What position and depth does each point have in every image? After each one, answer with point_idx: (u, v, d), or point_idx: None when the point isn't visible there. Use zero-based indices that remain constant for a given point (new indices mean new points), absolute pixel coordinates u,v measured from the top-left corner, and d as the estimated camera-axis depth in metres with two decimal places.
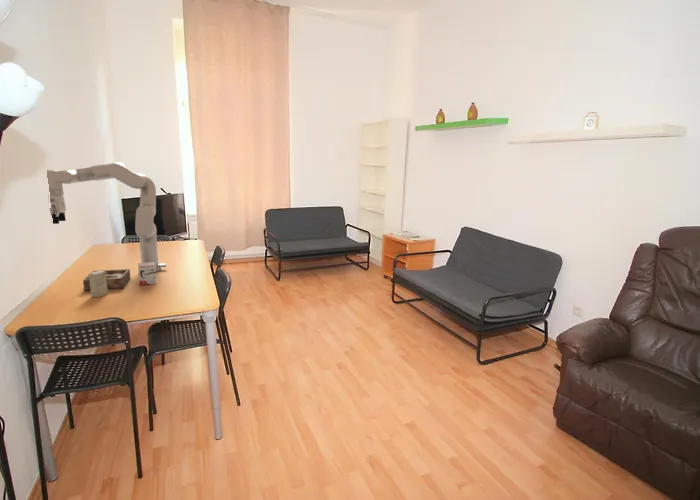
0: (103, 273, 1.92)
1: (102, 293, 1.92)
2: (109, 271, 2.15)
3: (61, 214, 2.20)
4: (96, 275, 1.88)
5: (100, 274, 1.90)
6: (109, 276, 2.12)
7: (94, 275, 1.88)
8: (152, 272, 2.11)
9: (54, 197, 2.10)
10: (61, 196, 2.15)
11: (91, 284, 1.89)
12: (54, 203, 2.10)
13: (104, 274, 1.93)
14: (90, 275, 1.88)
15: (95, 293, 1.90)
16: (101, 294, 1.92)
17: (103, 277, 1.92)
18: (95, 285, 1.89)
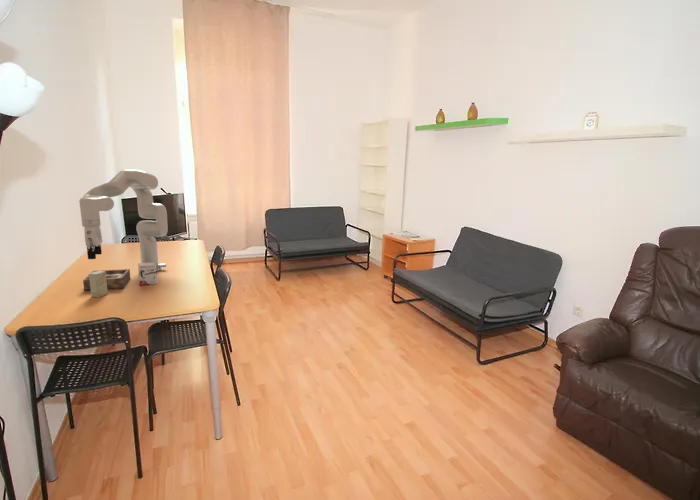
0: (103, 273, 1.92)
1: (102, 293, 1.92)
2: (109, 271, 2.15)
3: (97, 247, 1.92)
4: (96, 275, 1.88)
5: (100, 274, 1.90)
6: (109, 276, 2.12)
7: (94, 275, 1.88)
8: (152, 272, 2.11)
9: (91, 229, 1.82)
10: (98, 227, 1.87)
11: (91, 284, 1.89)
12: (91, 236, 1.82)
13: (104, 274, 1.93)
14: (90, 275, 1.88)
15: (95, 293, 1.90)
16: (101, 294, 1.92)
17: (103, 277, 1.92)
18: (95, 285, 1.89)
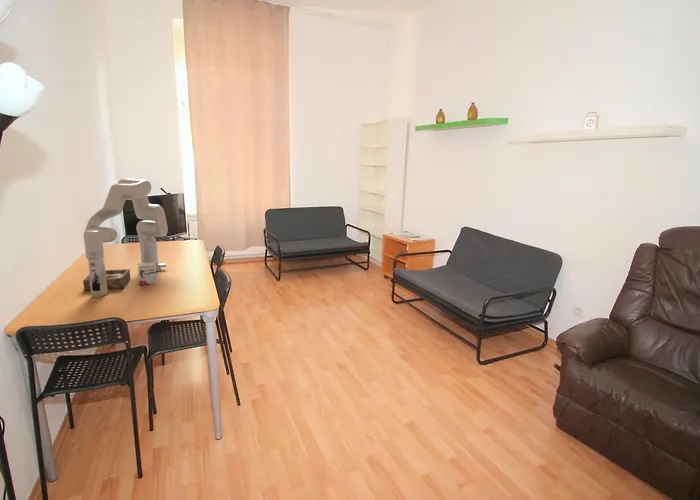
0: None
1: (102, 293, 1.92)
2: (109, 271, 2.15)
3: None
4: None
5: None
6: (109, 276, 2.12)
7: None
8: (152, 272, 2.11)
9: (95, 261, 1.85)
10: (101, 258, 1.90)
11: (91, 284, 1.89)
12: (95, 268, 1.86)
13: (104, 274, 1.93)
14: None
15: (95, 293, 1.90)
16: (101, 294, 1.92)
17: (103, 277, 1.92)
18: None
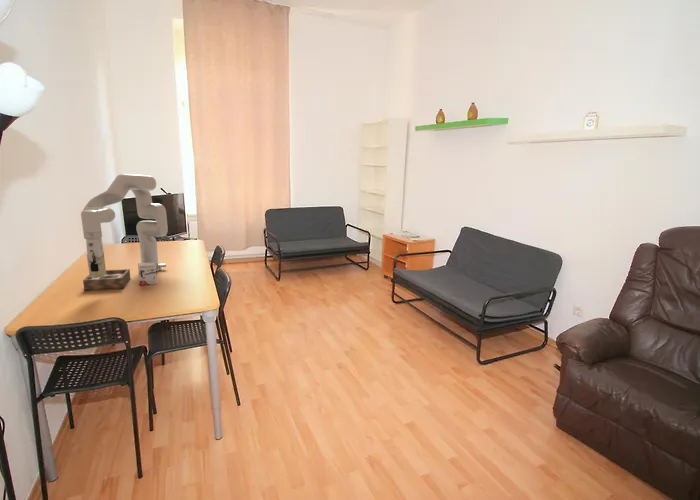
0: None
1: (100, 274, 1.91)
2: (109, 271, 2.15)
3: None
4: None
5: None
6: (109, 276, 2.12)
7: None
8: (152, 272, 2.11)
9: (93, 241, 1.83)
10: (99, 239, 1.88)
11: (89, 265, 1.87)
12: (93, 248, 1.84)
13: (103, 254, 1.91)
14: None
15: (93, 273, 1.88)
16: (99, 275, 1.90)
17: (101, 258, 1.90)
18: None
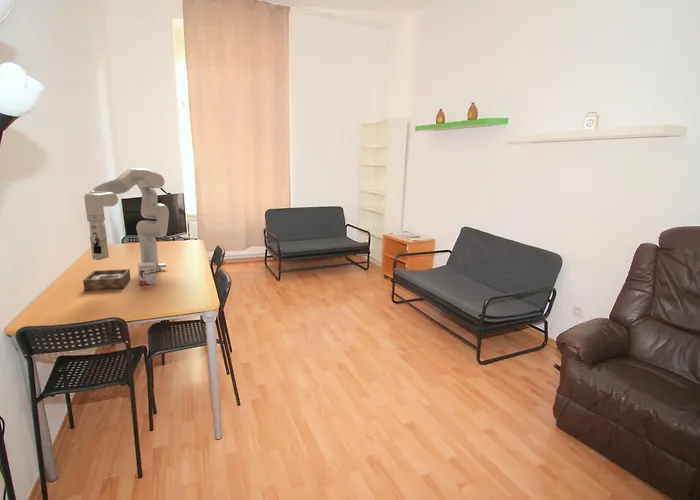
0: None
1: (103, 256, 1.96)
2: (109, 271, 2.15)
3: None
4: None
5: None
6: (109, 276, 2.12)
7: None
8: (152, 272, 2.11)
9: (96, 224, 1.89)
10: (102, 222, 1.94)
11: (92, 247, 1.93)
12: (96, 230, 1.89)
13: (105, 237, 1.97)
14: None
15: (96, 255, 1.94)
16: (102, 257, 1.95)
17: (104, 240, 1.96)
18: None
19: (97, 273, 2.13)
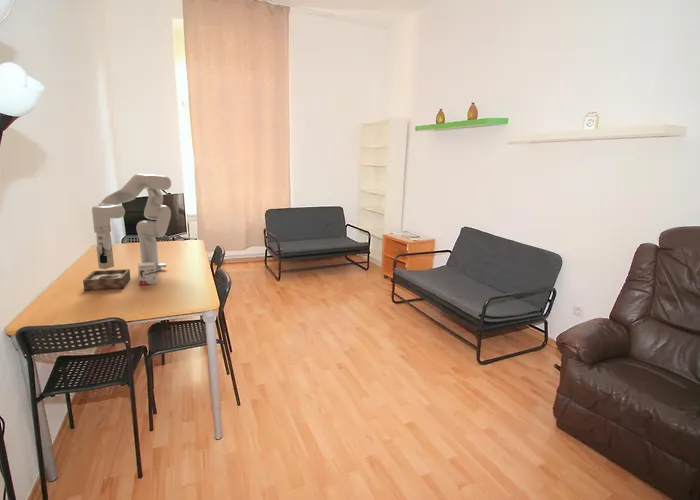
0: None
1: (109, 265, 2.06)
2: (109, 271, 2.15)
3: None
4: (103, 248, 2.02)
5: None
6: (109, 276, 2.12)
7: None
8: (152, 272, 2.11)
9: (102, 235, 1.99)
10: (108, 233, 2.04)
11: (98, 257, 2.03)
12: (102, 241, 1.99)
13: (111, 247, 2.06)
14: None
15: (102, 265, 2.03)
16: (108, 266, 2.05)
17: (110, 250, 2.06)
18: None
19: (97, 273, 2.13)
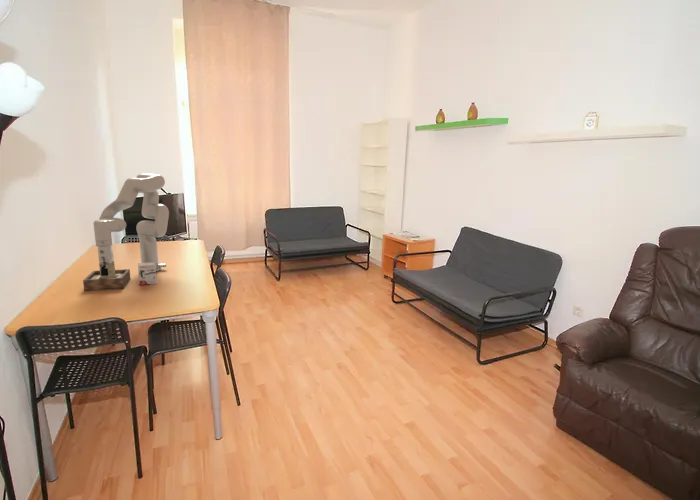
0: (112, 262, 2.08)
1: None
2: None
3: None
4: None
5: None
6: None
7: None
8: (152, 272, 2.11)
9: (104, 248, 2.00)
10: (110, 246, 2.06)
11: None
12: (104, 255, 2.01)
13: (113, 263, 2.09)
14: None
15: None
16: None
17: (112, 266, 2.08)
18: None
19: (97, 273, 2.13)
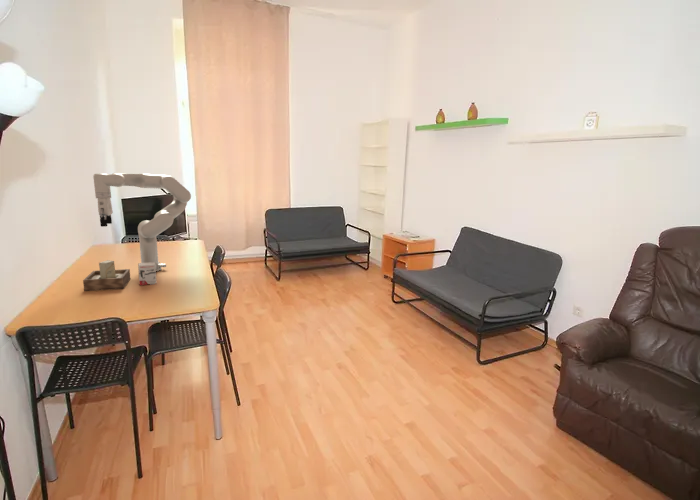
0: (112, 262, 2.08)
1: None
2: None
3: (108, 217, 2.23)
4: (106, 264, 2.04)
5: (109, 263, 2.06)
6: None
7: (104, 264, 2.04)
8: (152, 272, 2.11)
9: (103, 200, 2.13)
10: (109, 199, 2.18)
11: (101, 272, 2.05)
12: (103, 206, 2.13)
13: (113, 263, 2.09)
14: (100, 264, 2.04)
15: None
16: None
17: (112, 266, 2.08)
18: (105, 273, 2.05)
19: (97, 273, 2.13)
